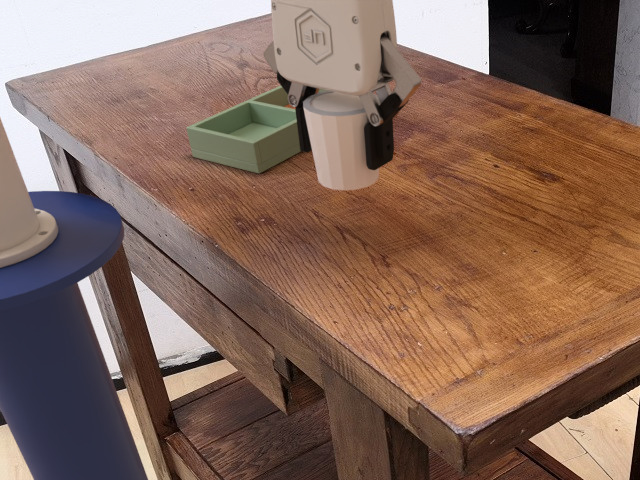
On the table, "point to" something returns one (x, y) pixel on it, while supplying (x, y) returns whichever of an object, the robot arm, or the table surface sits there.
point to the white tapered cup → (339, 140)
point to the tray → (249, 133)
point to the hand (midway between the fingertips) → (346, 154)
